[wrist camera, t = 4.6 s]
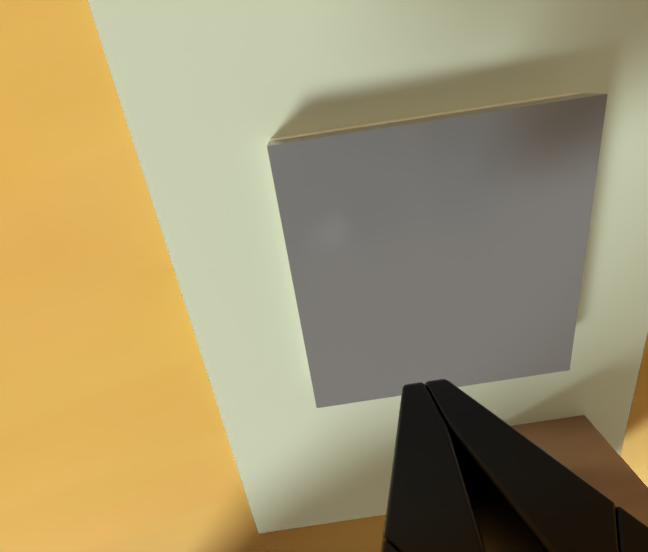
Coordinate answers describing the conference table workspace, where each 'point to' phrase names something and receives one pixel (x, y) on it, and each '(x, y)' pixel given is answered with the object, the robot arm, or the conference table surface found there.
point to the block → (590, 460)
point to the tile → (439, 243)
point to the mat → (351, 110)
